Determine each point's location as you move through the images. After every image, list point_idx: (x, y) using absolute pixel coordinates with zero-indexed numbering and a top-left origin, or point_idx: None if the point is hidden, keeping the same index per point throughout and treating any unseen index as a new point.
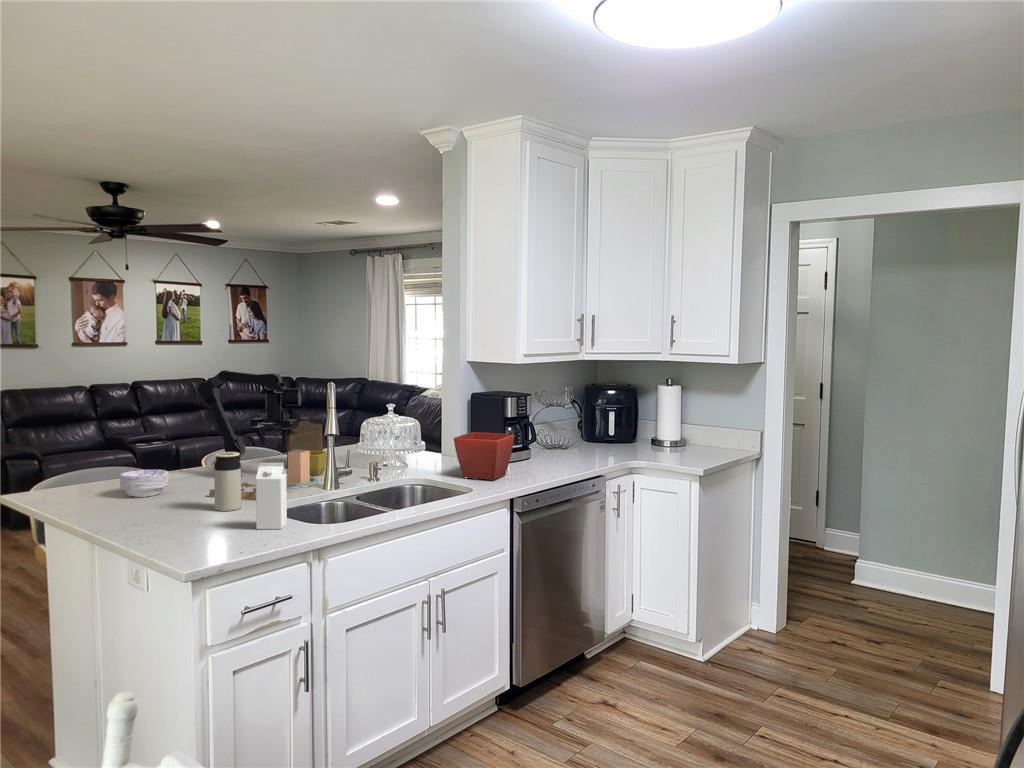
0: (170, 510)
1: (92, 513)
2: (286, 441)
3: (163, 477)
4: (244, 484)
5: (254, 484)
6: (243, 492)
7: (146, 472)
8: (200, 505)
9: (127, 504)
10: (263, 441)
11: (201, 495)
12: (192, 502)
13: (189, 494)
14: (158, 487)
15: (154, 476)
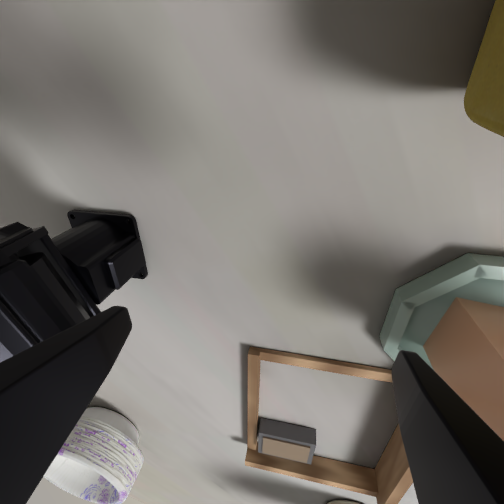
0: (251, 501)
1: (158, 495)
2: (455, 405)
3: (129, 482)
4: (259, 365)
5: (288, 357)
6: (345, 488)
7: None
8: (279, 487)
9: (154, 469)
10: (110, 348)
11: (222, 434)
12: (248, 471)
13: (189, 426)
14: (142, 463)
15: (125, 499)
